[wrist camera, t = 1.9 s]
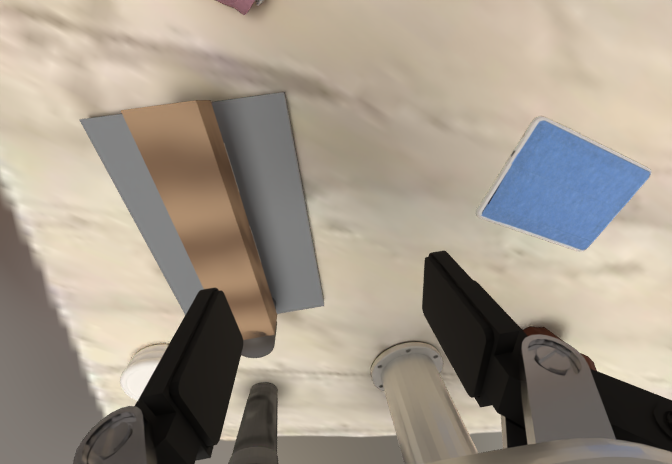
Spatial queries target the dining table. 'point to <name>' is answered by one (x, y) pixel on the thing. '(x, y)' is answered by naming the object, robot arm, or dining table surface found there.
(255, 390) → the beverage cup
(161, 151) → the swing bar
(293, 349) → the dining table surface
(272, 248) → the label panel
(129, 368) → the white round container
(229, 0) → the video game controller
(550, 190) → the tablet computer
